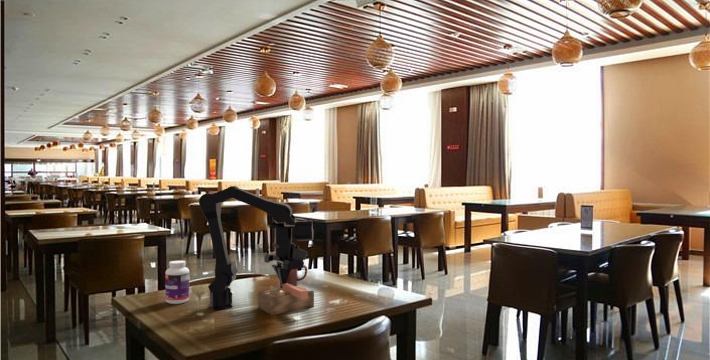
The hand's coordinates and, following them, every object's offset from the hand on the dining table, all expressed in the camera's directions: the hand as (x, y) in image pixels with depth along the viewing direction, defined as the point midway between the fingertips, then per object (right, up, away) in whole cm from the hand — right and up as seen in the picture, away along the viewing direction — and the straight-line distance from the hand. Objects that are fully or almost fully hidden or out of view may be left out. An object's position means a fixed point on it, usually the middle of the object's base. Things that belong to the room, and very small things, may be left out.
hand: (283, 285), depth 166 cm
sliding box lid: (+1, -3, -1) cm, 3 cm away
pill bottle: (-39, -8, +7) cm, 40 cm away
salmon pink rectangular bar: (+4, -2, -6) cm, 8 cm away
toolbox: (+1, -7, -1) cm, 7 cm away
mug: (0, -7, +25) cm, 26 cm away
